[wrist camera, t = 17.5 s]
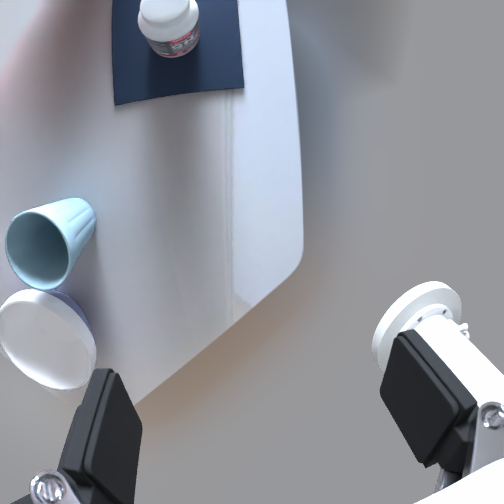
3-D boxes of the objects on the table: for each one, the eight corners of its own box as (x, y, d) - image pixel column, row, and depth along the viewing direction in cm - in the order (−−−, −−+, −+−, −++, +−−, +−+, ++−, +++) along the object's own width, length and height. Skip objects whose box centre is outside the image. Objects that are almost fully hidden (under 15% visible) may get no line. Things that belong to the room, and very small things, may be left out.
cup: (79, 262, 34) (45, 305, 24) (39, 219, 31) (-6, 250, 21) (116, 221, 33) (85, 256, 23) (74, 175, 30) (28, 193, 20)
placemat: (235, -19, 24) (235, -19, 24) (243, 87, 29) (244, 87, 29) (113, -1, 22) (112, -2, 22) (115, 105, 28) (114, 105, 28)
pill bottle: (183, 65, 27) (174, 39, 18) (141, 48, 26) (117, 19, 17) (209, 26, 26) (210, -11, 17) (166, 10, 24) (154, -30, 15)
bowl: (10, 267, 32) (-18, 293, 25) (98, 272, 34) (77, 303, 28) (34, 350, 37) (16, 382, 30) (114, 361, 40) (104, 398, 33)
